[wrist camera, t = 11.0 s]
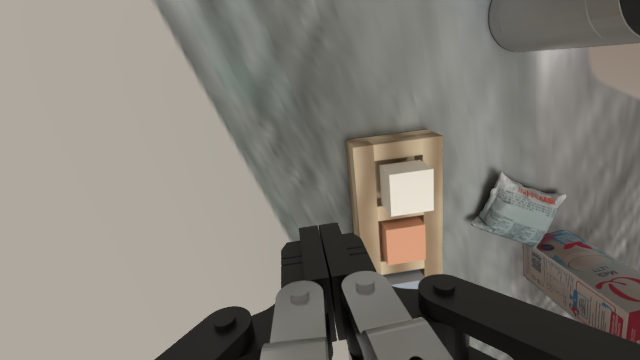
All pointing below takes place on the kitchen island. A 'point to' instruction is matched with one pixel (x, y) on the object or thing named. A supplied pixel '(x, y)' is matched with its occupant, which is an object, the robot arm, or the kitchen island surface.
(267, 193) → the kitchen island surface
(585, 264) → the juice carton
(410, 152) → the light brown rectangular frame
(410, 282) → the slate key
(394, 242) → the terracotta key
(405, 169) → the white square block
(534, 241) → the packaged food
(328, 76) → the kitchen island surface
